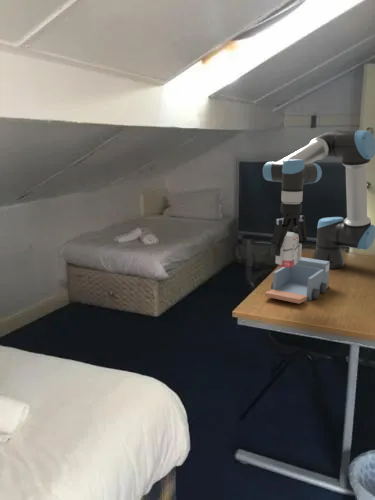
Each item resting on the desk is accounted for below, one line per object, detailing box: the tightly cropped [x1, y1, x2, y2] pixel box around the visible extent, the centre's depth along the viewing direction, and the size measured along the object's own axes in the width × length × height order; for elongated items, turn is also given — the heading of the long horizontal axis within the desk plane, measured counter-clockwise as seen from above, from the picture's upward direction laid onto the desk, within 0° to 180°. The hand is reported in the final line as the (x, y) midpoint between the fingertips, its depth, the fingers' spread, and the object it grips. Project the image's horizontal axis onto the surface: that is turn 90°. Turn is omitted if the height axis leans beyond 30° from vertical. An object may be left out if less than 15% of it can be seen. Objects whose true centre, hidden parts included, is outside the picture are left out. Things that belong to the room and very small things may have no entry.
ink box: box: [278, 231, 299, 268], centre depth 176 cm, size 9×5×12 cm, turn 150°
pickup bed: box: [270, 256, 330, 302], centre depth 192 cm, size 21×19×11 cm
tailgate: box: [264, 289, 307, 305], centre depth 180 cm, size 2×14×8 cm
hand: (288, 261), depth 177 cm, fingers closed on ink box, 9 cm apart
